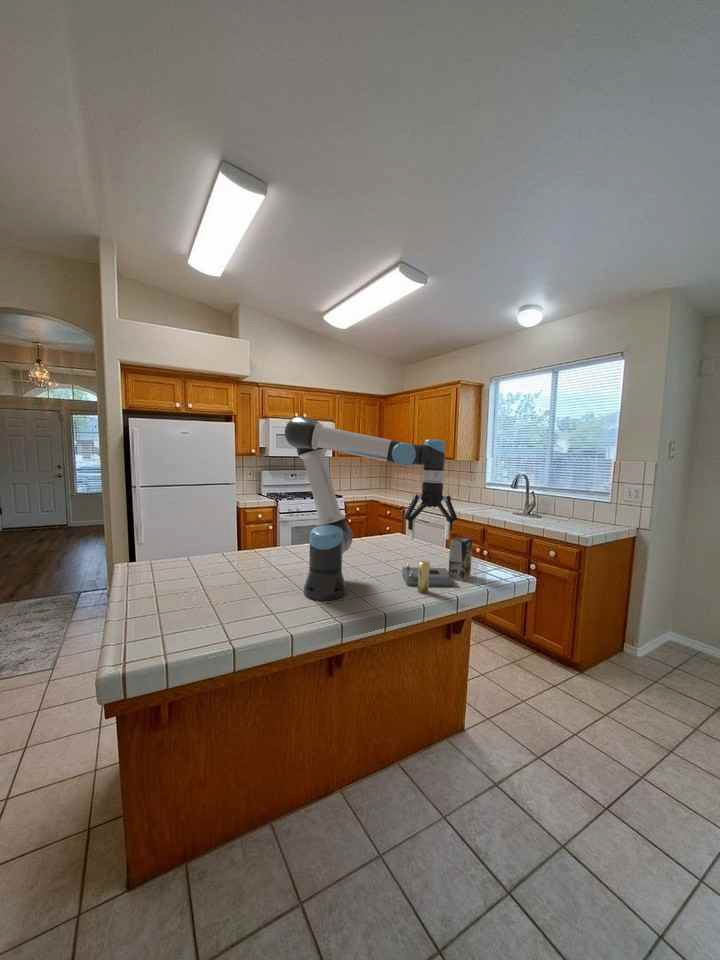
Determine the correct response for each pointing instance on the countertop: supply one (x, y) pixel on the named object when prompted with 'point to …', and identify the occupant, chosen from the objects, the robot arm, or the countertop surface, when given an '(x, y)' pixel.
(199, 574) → the countertop surface
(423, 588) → the cylinder
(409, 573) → the jig
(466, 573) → the coffee box
